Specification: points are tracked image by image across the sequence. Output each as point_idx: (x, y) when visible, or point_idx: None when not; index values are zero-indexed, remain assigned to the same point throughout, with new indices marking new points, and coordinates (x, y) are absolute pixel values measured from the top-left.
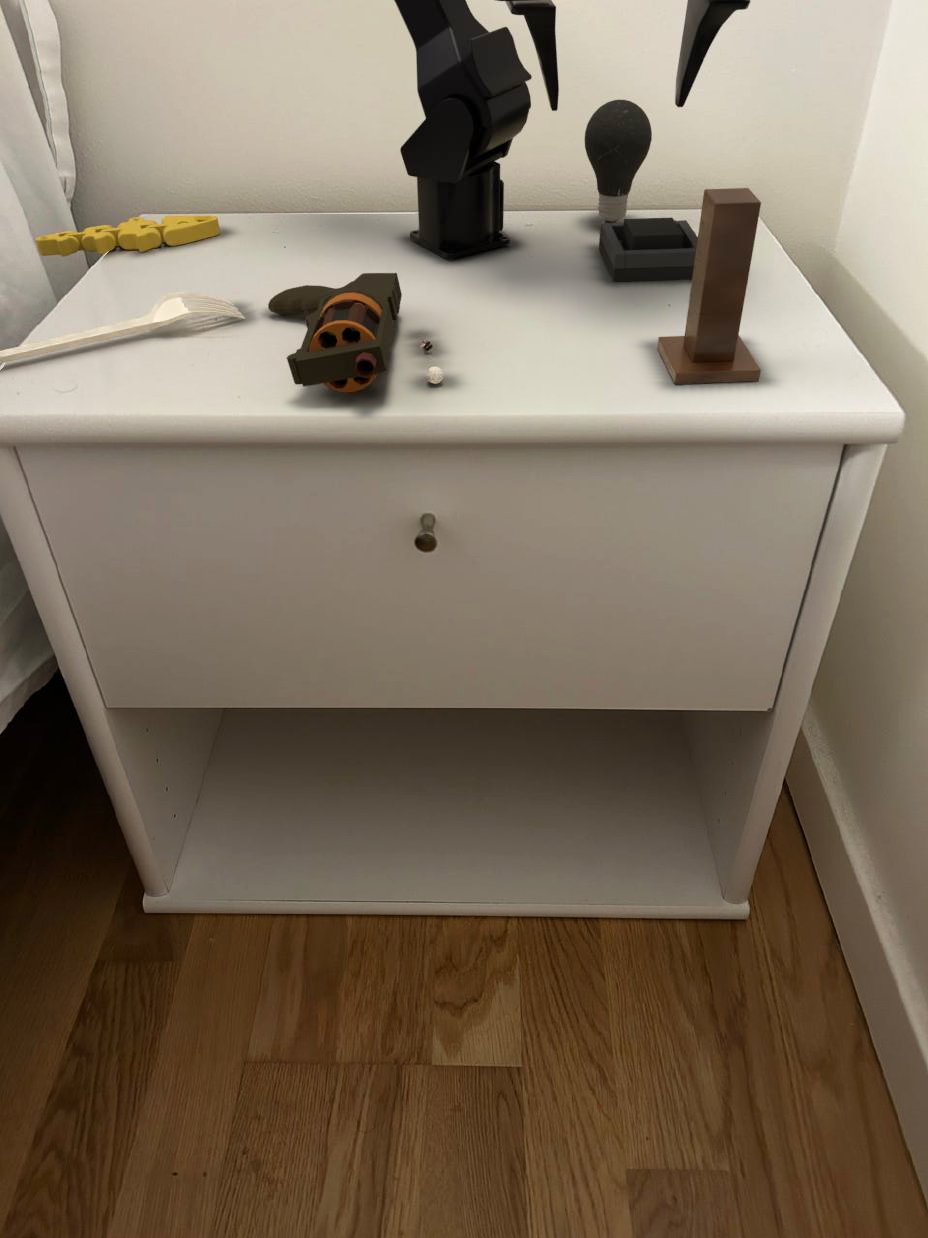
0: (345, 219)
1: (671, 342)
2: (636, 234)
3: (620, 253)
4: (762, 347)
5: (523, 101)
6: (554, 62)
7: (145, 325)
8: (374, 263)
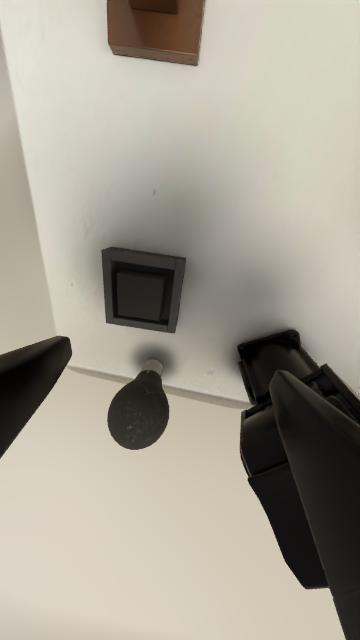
0: None
1: (189, 26)
2: (159, 282)
3: (180, 262)
4: (87, 38)
5: (257, 445)
6: (357, 442)
7: None
8: (350, 338)
